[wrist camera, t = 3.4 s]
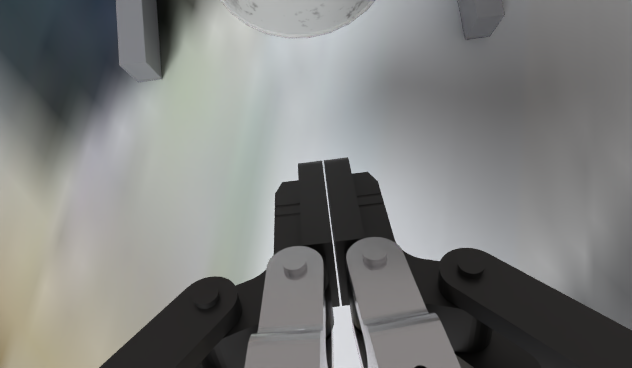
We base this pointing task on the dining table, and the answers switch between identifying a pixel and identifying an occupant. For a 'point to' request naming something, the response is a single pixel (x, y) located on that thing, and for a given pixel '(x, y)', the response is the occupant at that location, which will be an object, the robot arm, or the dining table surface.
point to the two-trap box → (144, 49)
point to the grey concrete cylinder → (297, 15)
